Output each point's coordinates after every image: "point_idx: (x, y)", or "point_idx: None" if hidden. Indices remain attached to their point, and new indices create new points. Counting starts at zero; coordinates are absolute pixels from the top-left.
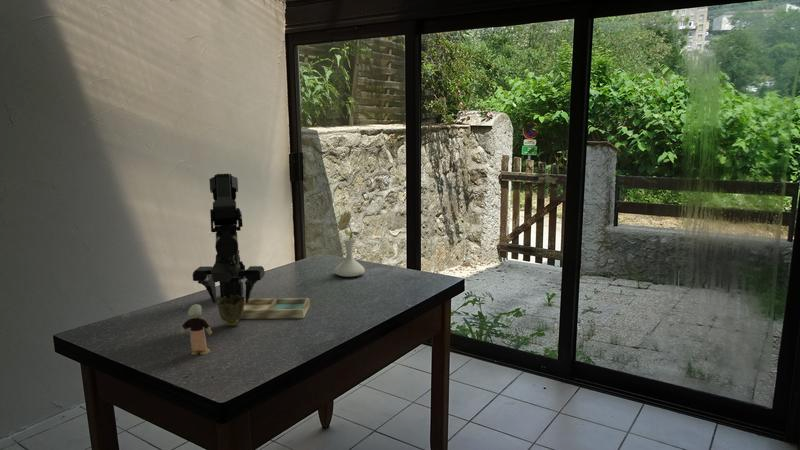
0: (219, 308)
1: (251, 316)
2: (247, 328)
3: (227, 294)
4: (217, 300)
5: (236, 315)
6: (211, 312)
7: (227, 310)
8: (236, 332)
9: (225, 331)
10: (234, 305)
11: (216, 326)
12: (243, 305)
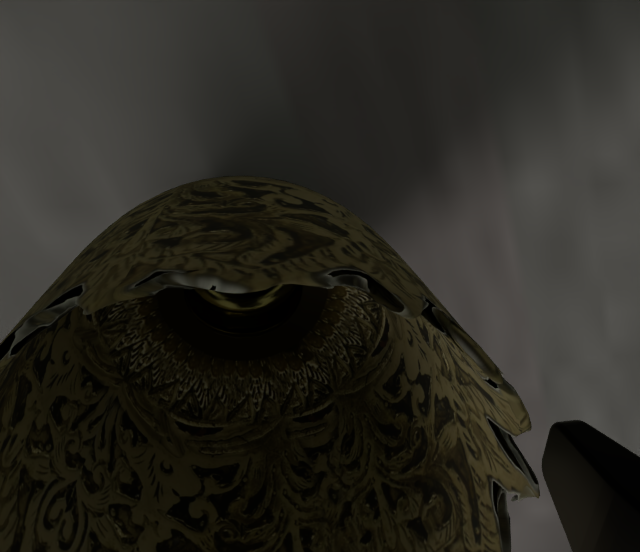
0: (420, 280)
1: None
2: (3, 168)
3: None
4: (525, 468)
5: (100, 234)
6: (536, 506)
7: (225, 214)
8: (80, 13)
9: (254, 52)
10: (42, 305)
11: (417, 214)
12: (4, 451)
